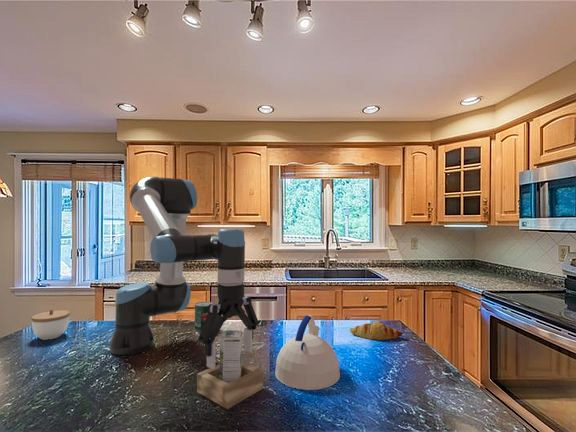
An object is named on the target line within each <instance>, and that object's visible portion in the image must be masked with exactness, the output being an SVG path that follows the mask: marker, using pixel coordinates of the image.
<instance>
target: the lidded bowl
mask: <svg viewBox="0 0 576 432" xmlns="http://www.w3.org/2000/svg"><path fill="white" fill-rule="evenodd" d="M70 315H71V313H70V310H66V309H65V310H64V309H62V310H61V309H60V310H57V309H56V310H54V309H49V311H44V312H40V313H36V314H35V315H32V316H31V328H32V332H33V334H34V335H35V336H36V337H38V338H39V339H40V340H41V339H42V341H43V340H44V341H45V340H46V341H47V340H48V339H49V340H53V339H57V338H60V337H61V336H62V335H63V333H64V332H66V330H67V329H68V326H69V323H70Z"/></svg>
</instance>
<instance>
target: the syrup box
mask: <svg viewBox="0 0 576 432" xmlns="http://www.w3.org/2000/svg"><path fill="white" fill-rule="evenodd" d="M219 341H220V342H219V346H220V347H219V364H220V368H219V379H220V380H222V381H224V382H226V383H228V384H229V383H231V382H233V381H235V380H237V379H239V378H241V364H242V362H243V361H242V357H243V330H234V329H233V330H223V331H222V334H221V336H220V339H219Z"/></svg>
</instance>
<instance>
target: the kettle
mask: <svg viewBox="0 0 576 432" xmlns="http://www.w3.org/2000/svg"><path fill="white" fill-rule="evenodd" d="M306 328H307V329H306ZM306 330H307V333H305V332H306ZM319 331H320V327H319V326H318V325H316V322H315V318H314V316H313V315H310V314H309V315H305V316H304V317H303V318H302V319H301V322H300V324H299V326H298V328H297V332H296V335H295V336H294V337H292V338H291V339H289V340H288V341H286V342H285V344H284V345H283V346H282V347H281V349H280V350H279V352H278V355H277V356H276V357H277V358H276V362H275V375H274V376H275V377H276V378H277V380H278V381H279V382H280V383H281V384H282V385H284V384H285V386H287V387H289V388H292V389H295V388H296V390H301V389H302V390H303V391H319V390H323V389H327V388H330V387H331V386H333V385H335V384H336V383H337V382H339V380H340V377H341V376H340V375H341V373H340V364H339V363H340V362H339V359H338V356H337V354H336V352H335V350H334V349H333V347H332V346H331V344H329V343H328V342H327V341H326V340H325V339H323V338H322V337H320V336H319V333H320V332H319Z"/></svg>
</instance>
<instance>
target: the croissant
mask: <svg viewBox="0 0 576 432" xmlns="http://www.w3.org/2000/svg"><path fill="white" fill-rule="evenodd" d="M349 332H350V333H351V334H353V335H355V336H357V337H359V338H363V339H366V340H367V339H368V340H373V341H374V340H376V341H386V340H395V339H398V338H400V337H402V336H403V335H404V334H403V333H404V332H403V331H402V330H398V329H397V328H394V327H391V326H389V325H387V324H384V322H383V321H380V320H375V321H372V323H371V322H367V323H363V324H361V325H356V326H354V327H351V328H350V329H349Z"/></svg>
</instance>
